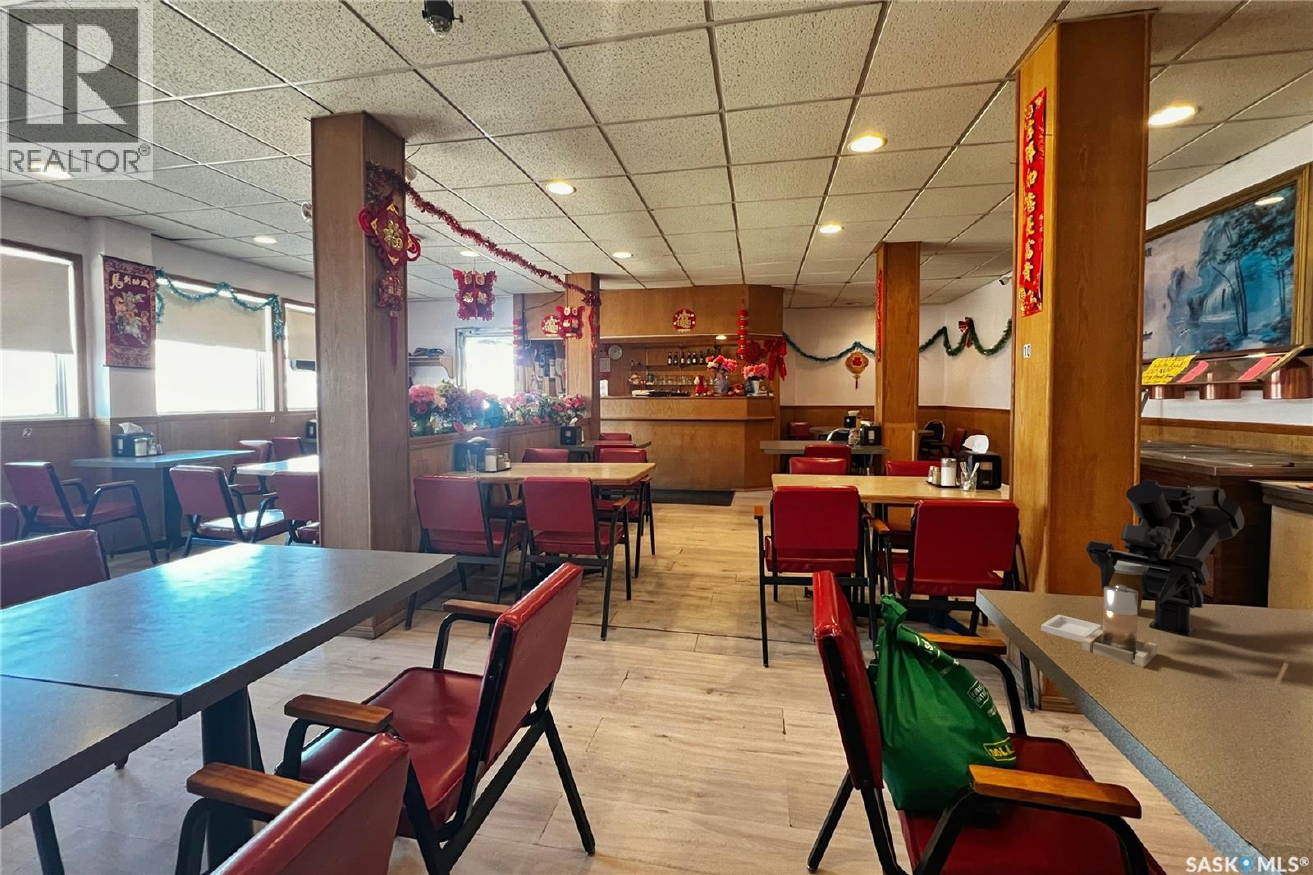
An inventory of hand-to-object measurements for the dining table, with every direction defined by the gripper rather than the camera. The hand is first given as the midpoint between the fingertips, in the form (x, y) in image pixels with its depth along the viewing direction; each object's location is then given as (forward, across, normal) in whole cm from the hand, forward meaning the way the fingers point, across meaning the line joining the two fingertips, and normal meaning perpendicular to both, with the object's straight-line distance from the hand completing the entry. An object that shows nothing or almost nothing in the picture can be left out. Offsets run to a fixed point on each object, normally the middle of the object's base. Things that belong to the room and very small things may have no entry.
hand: (1130, 594), depth 111 cm
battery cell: (+11, 0, +4) cm, 12 cm away
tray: (+8, -10, +8) cm, 15 cm away
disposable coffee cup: (-10, -10, +26) cm, 30 cm away
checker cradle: (+11, 0, +5) cm, 12 cm away
